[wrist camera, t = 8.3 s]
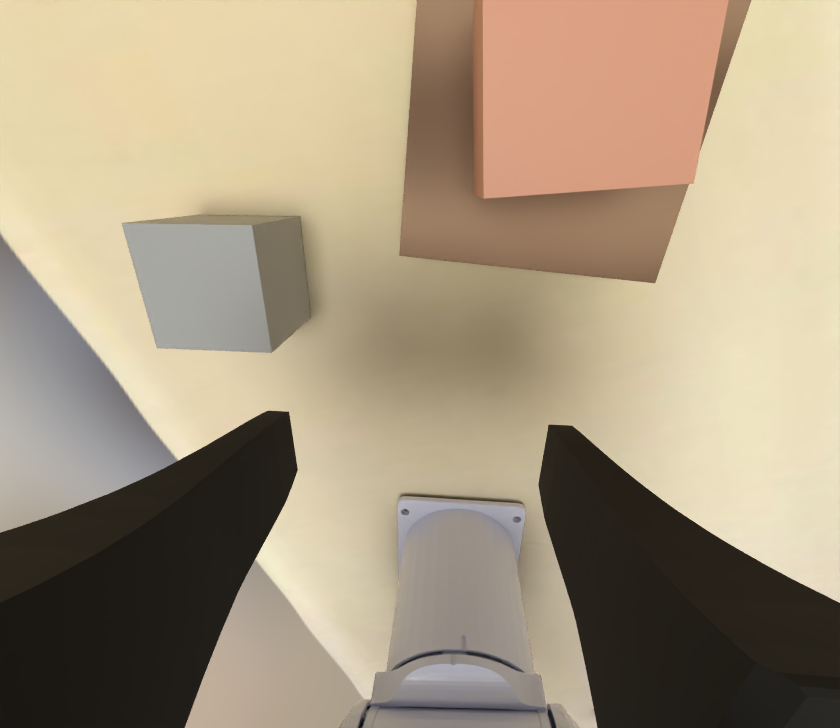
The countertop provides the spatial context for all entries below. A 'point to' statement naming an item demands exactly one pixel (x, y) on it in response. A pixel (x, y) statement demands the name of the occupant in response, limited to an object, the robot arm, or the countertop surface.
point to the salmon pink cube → (590, 93)
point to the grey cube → (221, 280)
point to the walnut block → (519, 215)
